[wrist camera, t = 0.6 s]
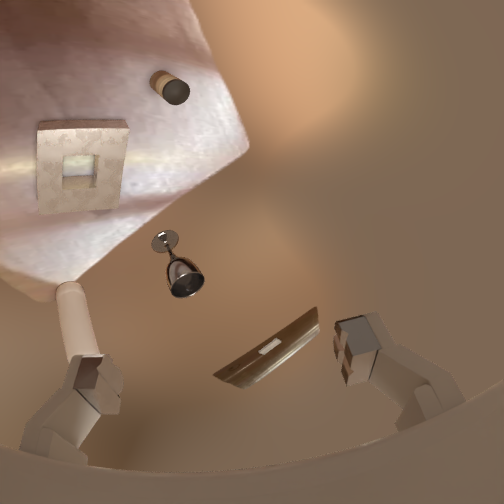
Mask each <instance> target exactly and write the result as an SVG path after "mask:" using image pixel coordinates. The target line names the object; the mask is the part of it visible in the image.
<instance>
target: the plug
mask: <svg viewBox="0 0 504 504" xmlns="http://www.w3.org/2000/svg"><path fill="white" fill-rule="evenodd" d="M150 86H151V88H152V89H153V90H154V91H156V92H157V93H158V94H159V95H160V96H161V97H162V98H164V99H165V100H166V101H167V102H168V103H169V104H172V105H180V104H182V103H184V102H185V101H186V100H187V99H188V97H189V94H190V88H189V86H188V84H187V83H185V82H184V81H182V80H180V79H178V78H177V77H175V76H173V75H171V74H170V73H168V72H166V71H158V72H156V73H154V74H153V75H152V76H151V78H150Z"/></svg>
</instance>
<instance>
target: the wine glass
mask: <svg viewBox="0 0 504 504" xmlns="http://www.w3.org/2000/svg"><path fill="white" fill-rule="evenodd" d="M178 240H179V237H178V234H177V233H176V232H174V231H171V230H167V231H162V232H160V233H159V234H157V235H156V236H155V237H154V239H153V241H152V248H153V250H154V251H156V252H158V253H165V252H169V255H170V262H169V263H168V265H167V267H166V270H165V276H166V280H167V285H168V287H169V289H170V291H171V293H172V295H173V296H174V297H176V298H187V297H190V296H192V295H194V294H195V293H197V292H198V291H199V290H200V289H201V288H202V287H203V285H204V282H205V280H204V276H203V274H202V273H201V271H200V270H199V268H198V267H197V266H196V264H195V263H193V262H192V261H191V260H190V259H188V258H185V257H178V256H176V255H175V254H174V253H173V252H172V249H173V248H174V247H175V246H176V245H177V243H178Z"/></svg>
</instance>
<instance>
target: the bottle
mask: <svg viewBox="0 0 504 504" xmlns="http://www.w3.org/2000/svg"><path fill="white" fill-rule="evenodd" d="M56 301H57V305H58V313H59V319H60V325H61V330H62V336H63V341H64V346H65V351H66V355H67V360H68V362H69V364H70V361H71V359H72V357H73V356H74V355H85V354H100V353H99V349H98V345H97V342H96V338H95V335H94V331H93V327H92V323H91V319H90V315H89V312H88V307H87V303H86V296H85V292H84V289H83V287H82V286H81V285H80V284H79V283H77V282H66V283H63V284H61V285H60V286H59V287H58V288H57V290H56Z"/></svg>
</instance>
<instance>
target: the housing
mask: <svg viewBox="0 0 504 504" xmlns="http://www.w3.org/2000/svg"><path fill="white" fill-rule="evenodd" d="M129 130H130V128H129V127H128V125H127V123H126V121H125V120H57V121H40V124H39V128H38V134H37V193H38V210H39V215H44V214H54V213H65V212H76V211H88V210H101V209H115V208H118V207H119V198H120V189H121V181H122V173H123V166H124V159H125V153H126V147H127V141H128V135H129ZM74 155H95V164H94V175H86V176H69V177H62V167H63V156H74Z"/></svg>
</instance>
